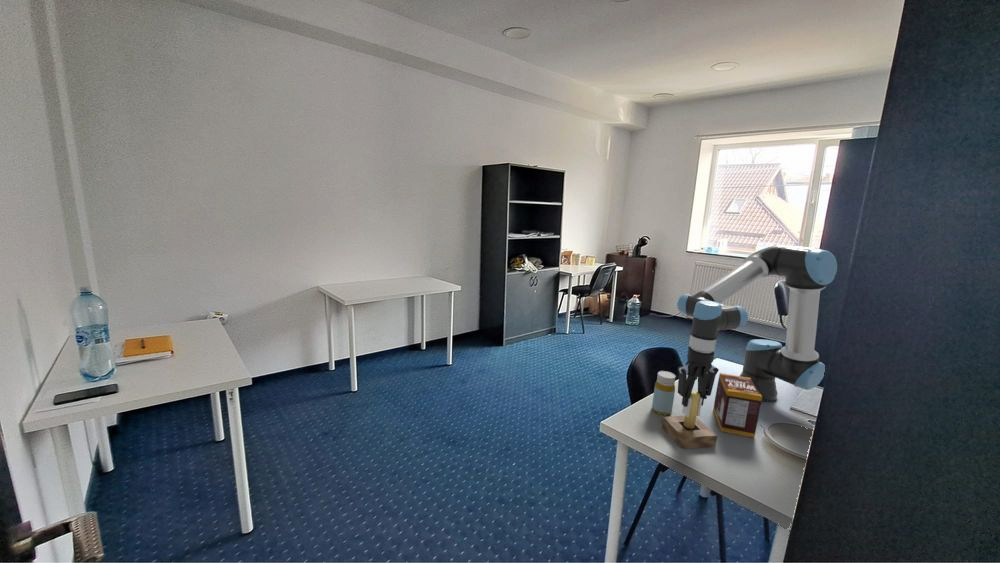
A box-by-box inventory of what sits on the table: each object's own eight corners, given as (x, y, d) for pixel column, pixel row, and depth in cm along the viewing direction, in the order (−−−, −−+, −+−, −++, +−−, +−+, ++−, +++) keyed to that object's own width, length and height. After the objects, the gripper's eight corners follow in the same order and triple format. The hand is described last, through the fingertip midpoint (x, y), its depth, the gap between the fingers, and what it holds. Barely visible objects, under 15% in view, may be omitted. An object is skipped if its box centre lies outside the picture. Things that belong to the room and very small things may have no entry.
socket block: (692, 425, 138) (694, 415, 137) (715, 446, 126) (717, 435, 126) (661, 427, 136) (662, 416, 135) (682, 448, 125) (683, 437, 124)
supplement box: (743, 415, 146) (750, 377, 143) (754, 438, 132) (763, 396, 128) (712, 409, 149) (719, 372, 146) (720, 431, 135) (728, 390, 132)
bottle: (673, 417, 143) (678, 379, 140) (653, 414, 144) (658, 377, 141) (669, 407, 149) (674, 371, 146) (650, 404, 151) (655, 369, 148)
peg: (690, 422, 132) (695, 390, 130) (696, 428, 129) (702, 395, 126) (681, 422, 132) (686, 390, 129) (687, 428, 128) (692, 396, 126)
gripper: (716, 344, 129) (705, 407, 134) (671, 344, 127) (662, 409, 132) (732, 352, 122) (720, 419, 127) (685, 353, 120) (675, 421, 125)
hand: (690, 414), depth 129 cm, fingers closed on peg, 3 cm apart
